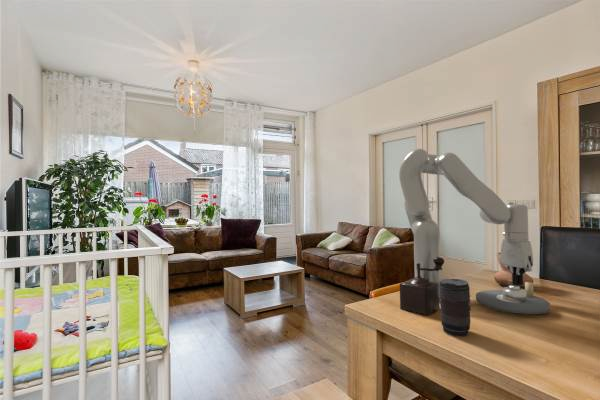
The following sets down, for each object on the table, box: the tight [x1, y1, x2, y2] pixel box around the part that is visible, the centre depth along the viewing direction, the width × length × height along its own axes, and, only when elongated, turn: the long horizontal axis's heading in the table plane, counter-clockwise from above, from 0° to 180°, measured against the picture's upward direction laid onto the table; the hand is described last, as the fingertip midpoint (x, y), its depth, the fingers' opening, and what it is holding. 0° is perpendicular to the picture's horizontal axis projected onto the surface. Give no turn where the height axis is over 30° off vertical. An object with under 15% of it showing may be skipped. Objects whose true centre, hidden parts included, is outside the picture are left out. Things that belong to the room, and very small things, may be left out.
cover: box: [502, 285, 527, 303], centre depth 111 cm, size 7×7×5 cm
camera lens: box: [439, 278, 472, 338], centre depth 92 cm, size 8×8×15 cm
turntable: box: [475, 282, 551, 315], centre depth 112 cm, size 22×22×6 cm
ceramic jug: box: [493, 251, 534, 289], centre depth 139 cm, size 18×14×14 cm
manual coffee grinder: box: [399, 256, 445, 317], centre depth 114 cm, size 16×11×18 cm
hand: (517, 284), depth 119 cm, fingers closed
